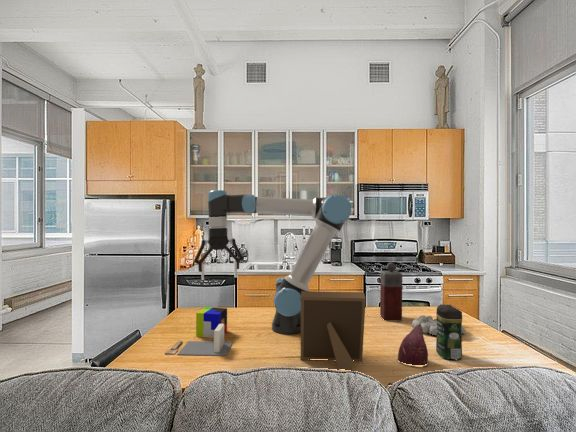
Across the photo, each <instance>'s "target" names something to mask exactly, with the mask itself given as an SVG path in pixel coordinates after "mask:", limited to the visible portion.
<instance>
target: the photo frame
mask: <svg viewBox="0 0 576 432" xmlns="http://www.w3.org/2000/svg"><path fill="white" fill-rule="evenodd" d="M366 301H367V300H366V295H365V293H364V291H363V292H359V291H358V292H357V291H356V292H355V291H353V292H352V291H310V290H309V291H301V332H300V361H311V360H310V359H328V360H336V361H335V362H336V365H337V369H338V368H339V369H345V370H353V368H352V367H353V362H352V361H353V360H354V361H362V362H363V351H364V337H365V336H364V333H365V319H366ZM308 359H309V360H308Z"/></svg>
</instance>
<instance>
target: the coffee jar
mask: <svg viewBox="0 0 576 432" xmlns="http://www.w3.org/2000/svg"><path fill="white" fill-rule="evenodd" d="M436 318H437V337H436V336H435V337H436V339H435V340H436V343H435V345H436V346H435V352H436V353H437V355H438V356H440V357H441V356H442V357H444V358H449V359H459V360H461V359H462V358H463V344H462V340H463V338H462V337H463V336H462V335H463V334H462V332H461V327H462V326H463V311H462V310H460V309H458V308H457V307H455V306H453V305H452V304H439V305H438V306H437V307H436ZM442 357H441V358H442ZM444 358H443V359H444ZM460 358H461V359H460ZM449 359H448V360H449Z"/></svg>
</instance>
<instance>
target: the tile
mask: <svg viewBox="0 0 576 432" xmlns="http://www.w3.org/2000/svg"><path fill="white" fill-rule="evenodd" d="M213 342H214V352H220V350H221V349H222V347H223V345H224V342H225V333H224V324H219V325H218V326H217V328H216V329H215V330H214V338H213Z"/></svg>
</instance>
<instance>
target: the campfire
mask: <svg viewBox="0 0 576 432" xmlns="http://www.w3.org/2000/svg"><path fill="white" fill-rule="evenodd" d="M419 324H421V326H422V331H423V334H428V333H429V335H431V334H432V335H431V336H433V335H437V317H436V318H433V316H432V315H428V316H425V315H420V316H419V317H418V318H416V319H413V320H412V322H411V328H412V329H414V328H415V327H416V326H417V325H419ZM461 332H462V333H465V334H466V333H467V330H466V329H465V327H464V326H463V325H462V327H461Z"/></svg>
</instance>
